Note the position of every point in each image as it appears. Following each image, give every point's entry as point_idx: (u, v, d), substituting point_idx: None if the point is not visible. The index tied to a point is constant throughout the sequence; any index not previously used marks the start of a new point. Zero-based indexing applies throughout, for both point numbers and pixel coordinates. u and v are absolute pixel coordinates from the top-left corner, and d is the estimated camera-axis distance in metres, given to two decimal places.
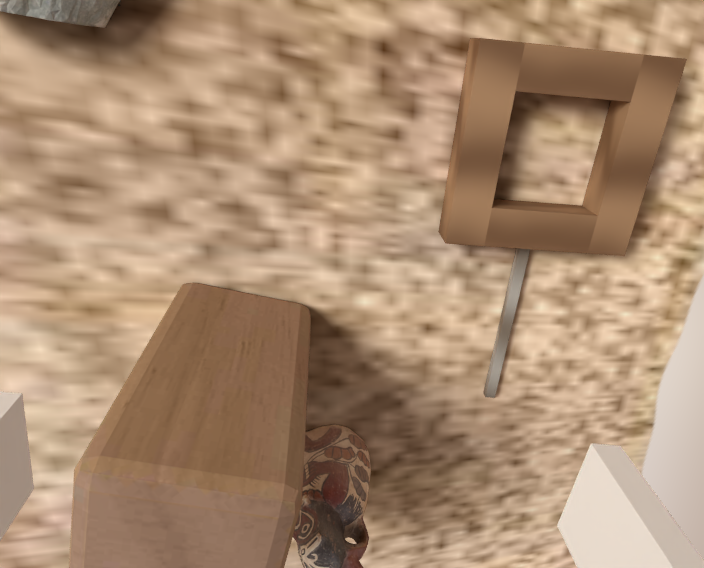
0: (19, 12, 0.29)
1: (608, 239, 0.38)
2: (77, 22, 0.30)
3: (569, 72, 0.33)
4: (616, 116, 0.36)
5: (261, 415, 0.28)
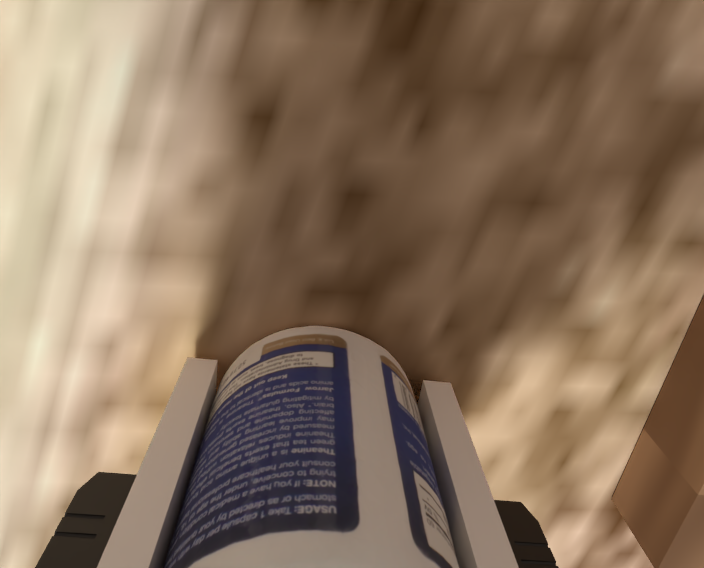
0: None
1: None
2: None
3: None
4: None
5: None
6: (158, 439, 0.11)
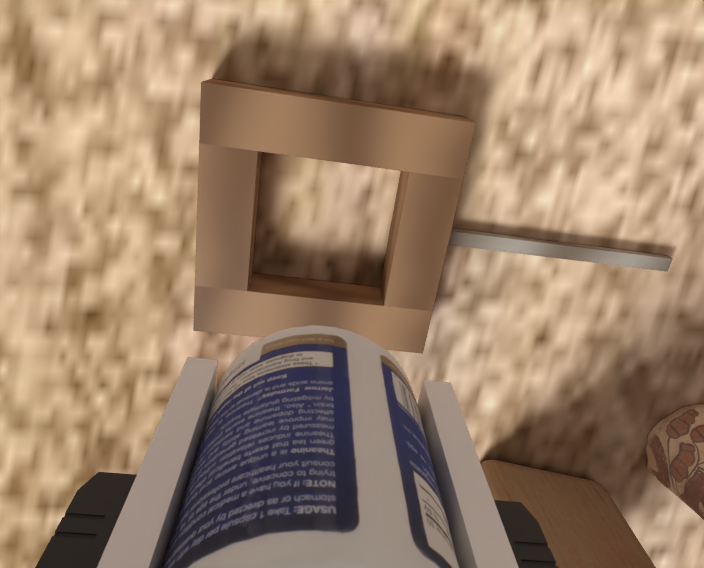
0: None
1: (446, 151, 0.26)
2: None
3: (224, 232, 0.28)
4: None
5: None
6: (158, 439, 0.11)
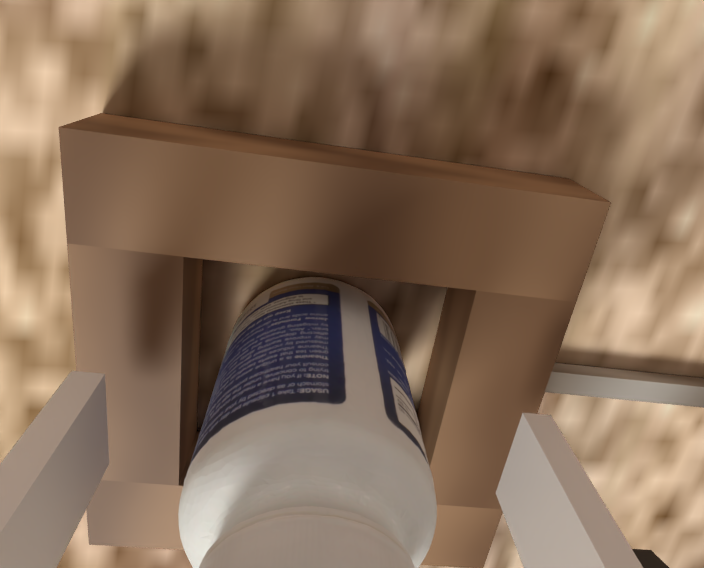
0: None
1: (550, 254, 0.14)
2: None
3: (129, 396, 0.15)
4: None
5: None
6: (5, 467, 0.10)
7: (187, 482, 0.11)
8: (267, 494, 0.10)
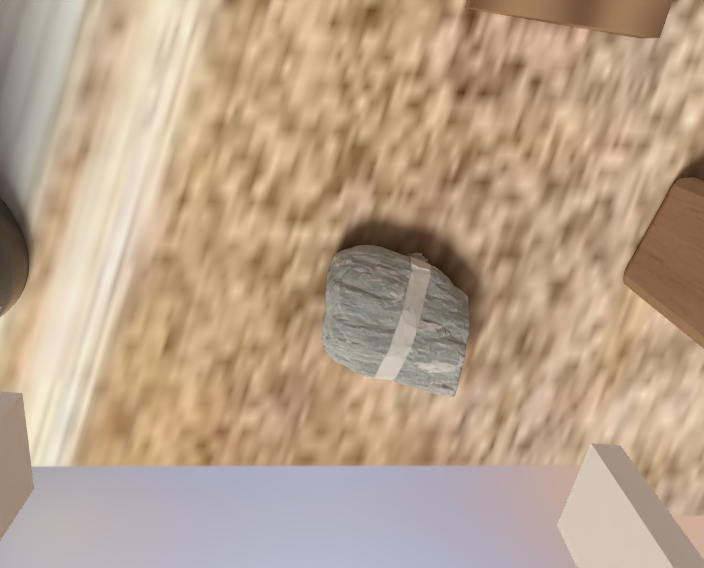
0: (465, 347, 0.44)
1: None
2: (468, 313, 0.44)
3: None
4: None
5: None
6: None
7: None
8: None
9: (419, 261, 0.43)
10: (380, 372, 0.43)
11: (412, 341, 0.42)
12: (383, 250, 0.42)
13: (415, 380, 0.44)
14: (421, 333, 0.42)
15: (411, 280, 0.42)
